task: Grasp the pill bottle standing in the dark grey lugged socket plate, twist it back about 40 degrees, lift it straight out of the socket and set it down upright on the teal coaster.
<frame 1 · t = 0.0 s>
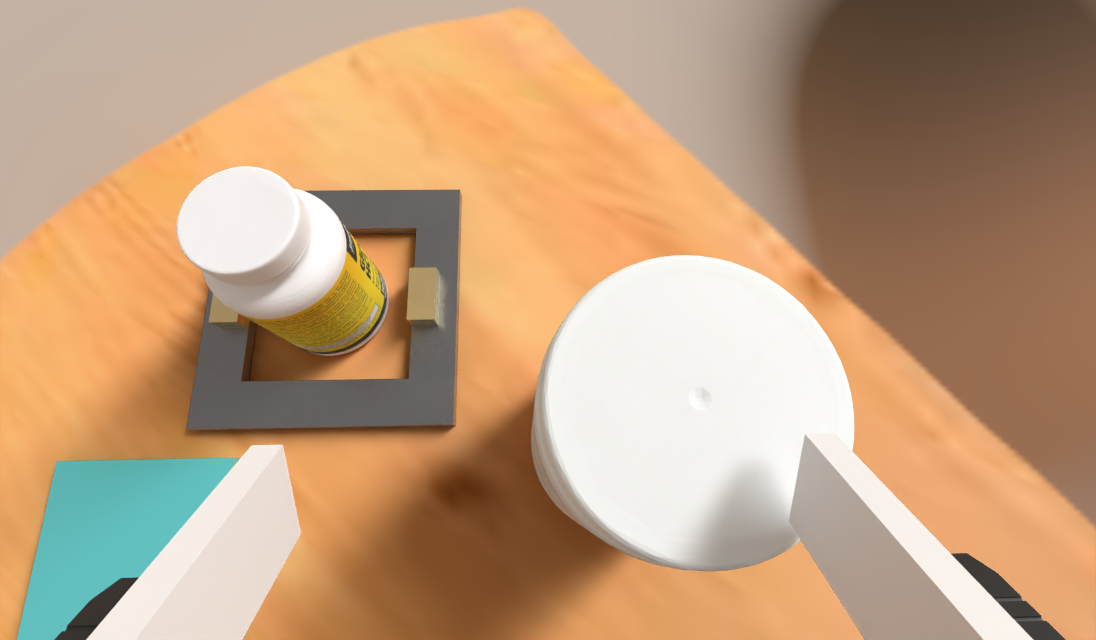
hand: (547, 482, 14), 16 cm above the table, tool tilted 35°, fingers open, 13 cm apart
supplement tub: (618, 439, 30), on the table, touching gripper
coaster: (136, 551, 28), on the table
pill bottle: (339, 306, 32), resting in socket plate
socket plate: (337, 305, 31), on the table
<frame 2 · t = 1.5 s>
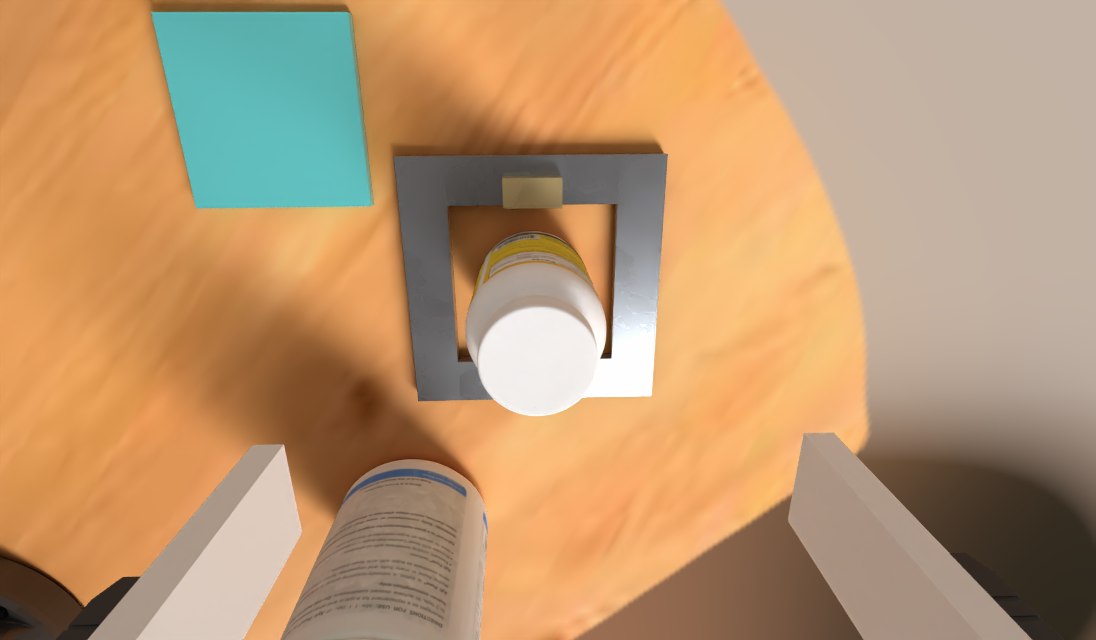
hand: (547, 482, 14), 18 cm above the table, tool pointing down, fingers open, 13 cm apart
supplement tub: (419, 511, 36), on the table
coaster: (273, 115, 27), on the table
pill bottle: (533, 281, 31), resting in socket plate
socket plate: (533, 282, 31), on the table
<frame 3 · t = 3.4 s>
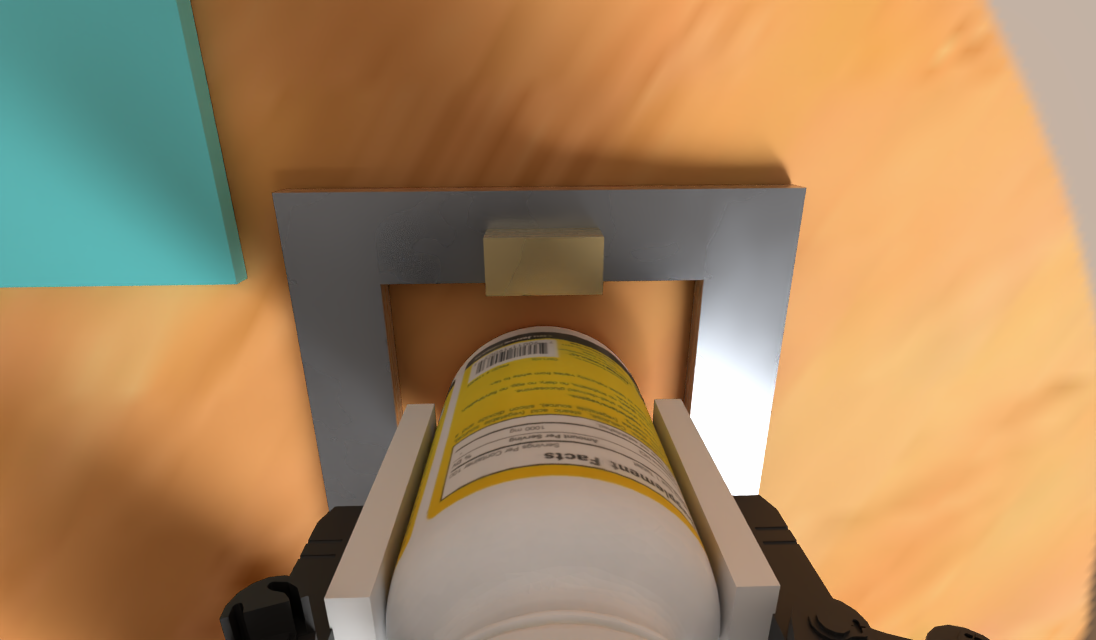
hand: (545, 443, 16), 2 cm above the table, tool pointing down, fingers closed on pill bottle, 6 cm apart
coaster: (34, 111, 14), on the table
pill bottle: (544, 406, 18), resting in socket plate, touching gripper
socket plate: (543, 409, 17), on the table
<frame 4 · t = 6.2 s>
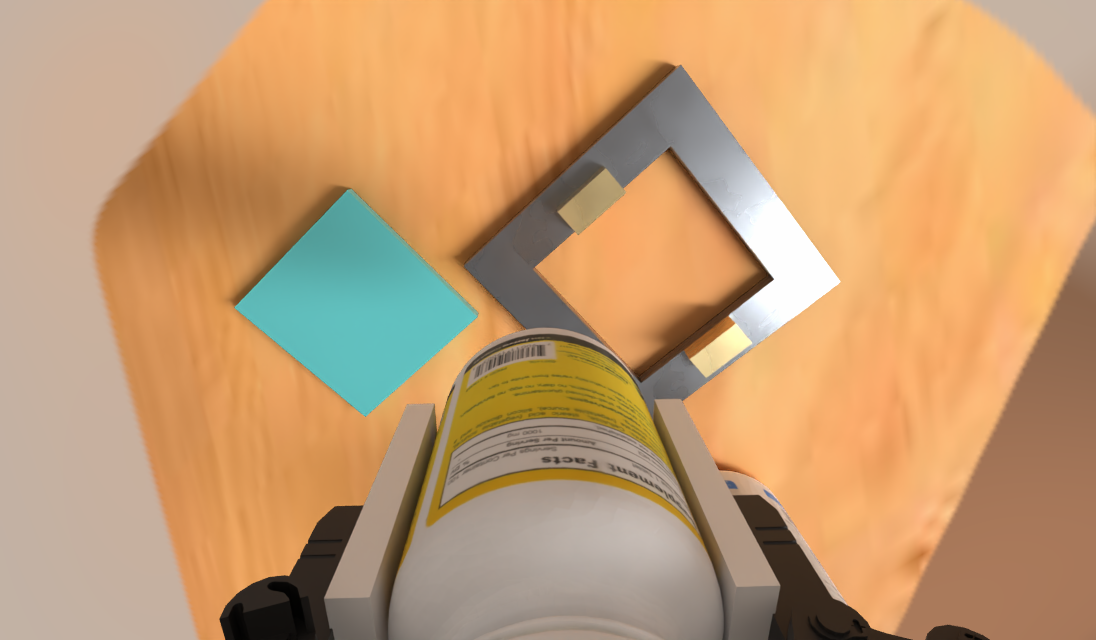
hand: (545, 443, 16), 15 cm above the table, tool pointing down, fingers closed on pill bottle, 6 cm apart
supplement tub: (706, 521, 35), on the table
coaster: (360, 308, 29), on the table
pill bottle: (545, 408, 18), point 12 cm above the table, touching gripper
socket plate: (651, 270, 29), on the table
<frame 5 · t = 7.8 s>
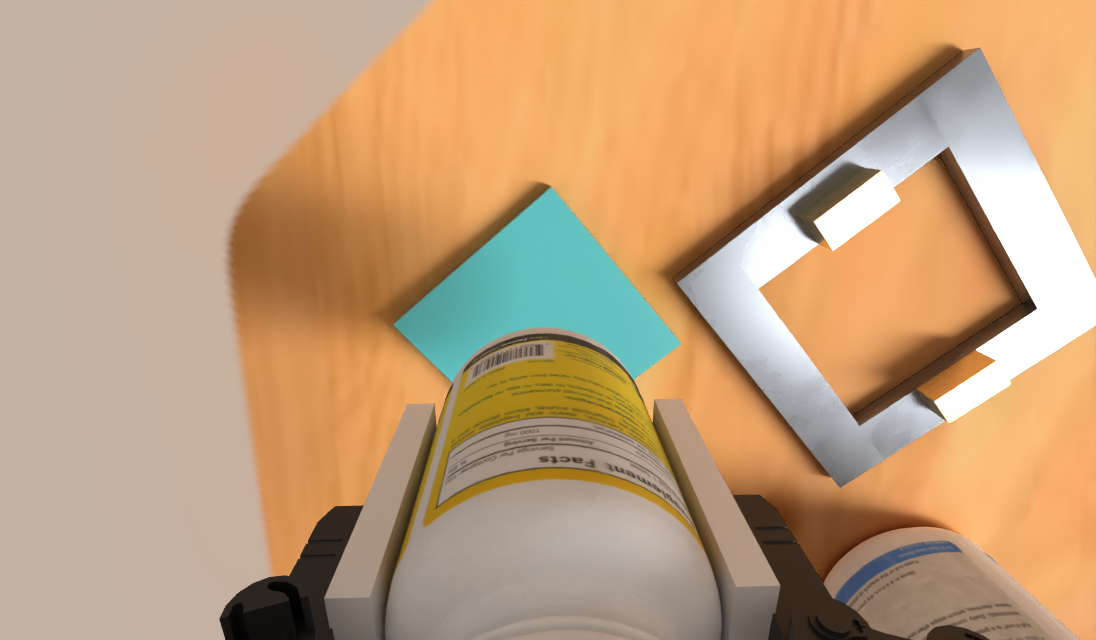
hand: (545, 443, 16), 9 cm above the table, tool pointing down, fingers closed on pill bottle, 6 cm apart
supplement tub: (894, 583, 31), on the table
coaster: (539, 329, 24), on the table
pill bottle: (544, 407, 18), point 7 cm above the table, touching gripper
socket plate: (888, 293, 24), on the table
when the fingers open (4 cm above the table, at t = 9.1 s): pill bottle drops 1 cm, resting on coaster.
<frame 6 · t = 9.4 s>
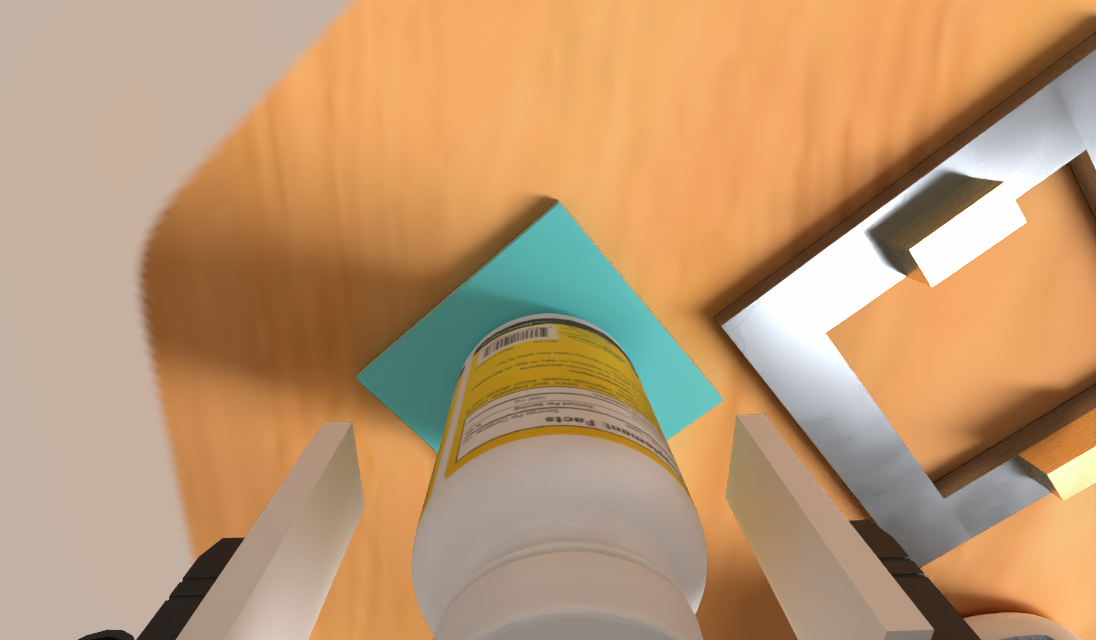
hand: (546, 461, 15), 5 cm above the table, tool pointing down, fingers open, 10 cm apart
coaster: (542, 381, 19), on the table
pill bottle: (548, 389, 19), resting on coaster
socket plate: (988, 336, 19), on the table
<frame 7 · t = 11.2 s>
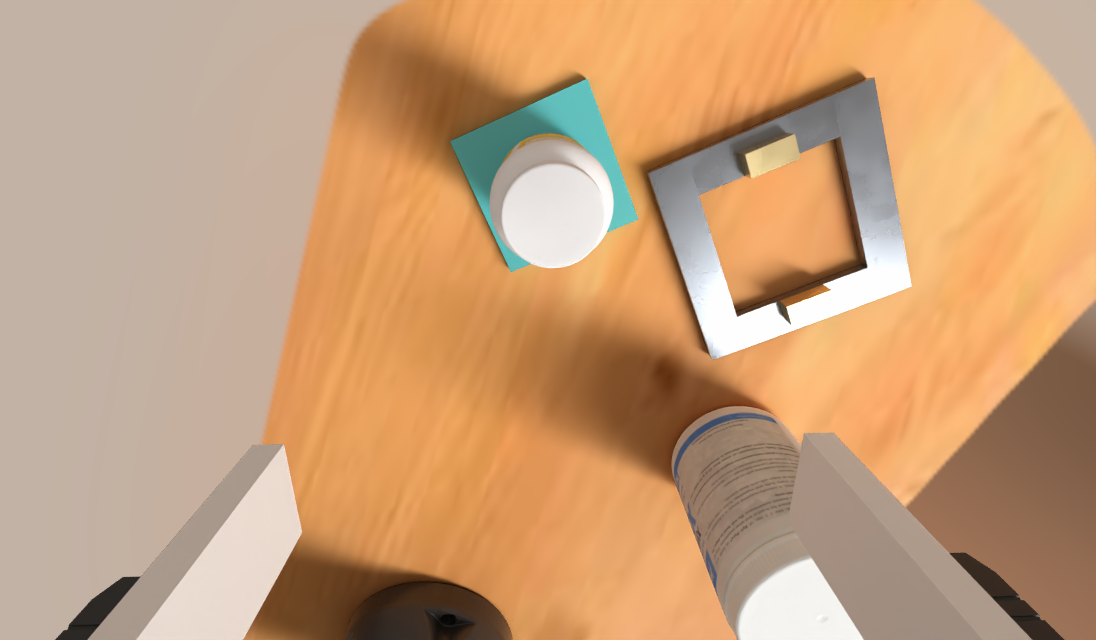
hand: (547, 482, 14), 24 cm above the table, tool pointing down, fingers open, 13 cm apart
supplement tub: (729, 452, 43), on the table
coaster: (546, 180, 35), on the table
pill bottle: (549, 183, 34), resting on coaster
socket plate: (780, 229, 36), on the table
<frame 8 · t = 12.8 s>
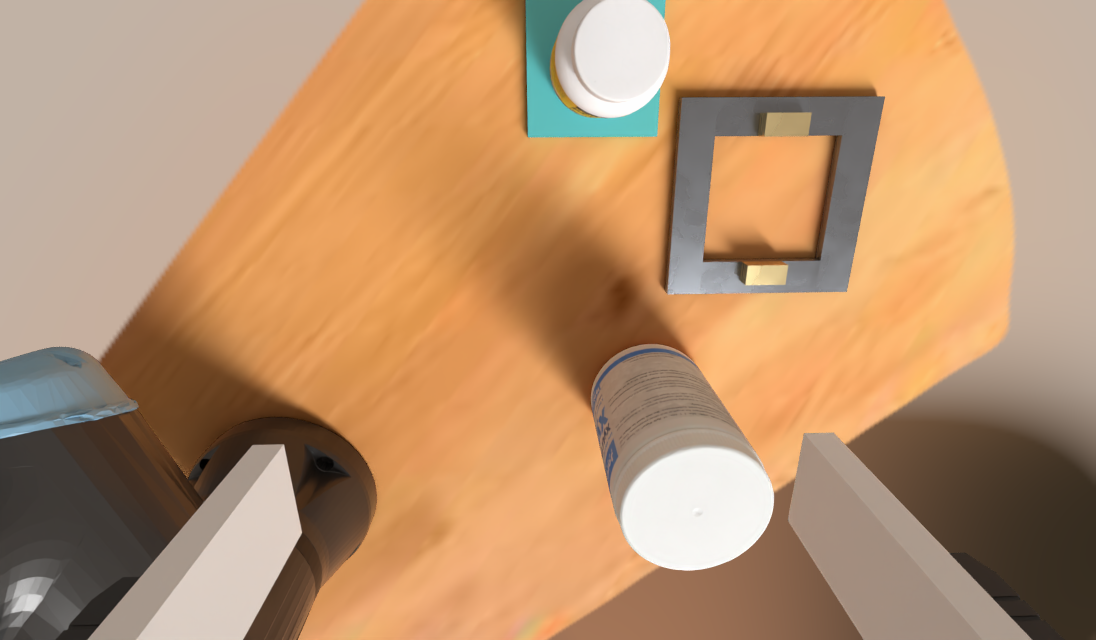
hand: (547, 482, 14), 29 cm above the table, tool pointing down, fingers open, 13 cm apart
supplement tub: (646, 391, 46), on the table
coaster: (593, 66, 37), on the table
pill bottle: (595, 69, 36), resting on coaster
socket plate: (765, 199, 40), on the table
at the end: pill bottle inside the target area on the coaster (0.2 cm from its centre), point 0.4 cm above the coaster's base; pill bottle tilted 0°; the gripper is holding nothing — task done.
